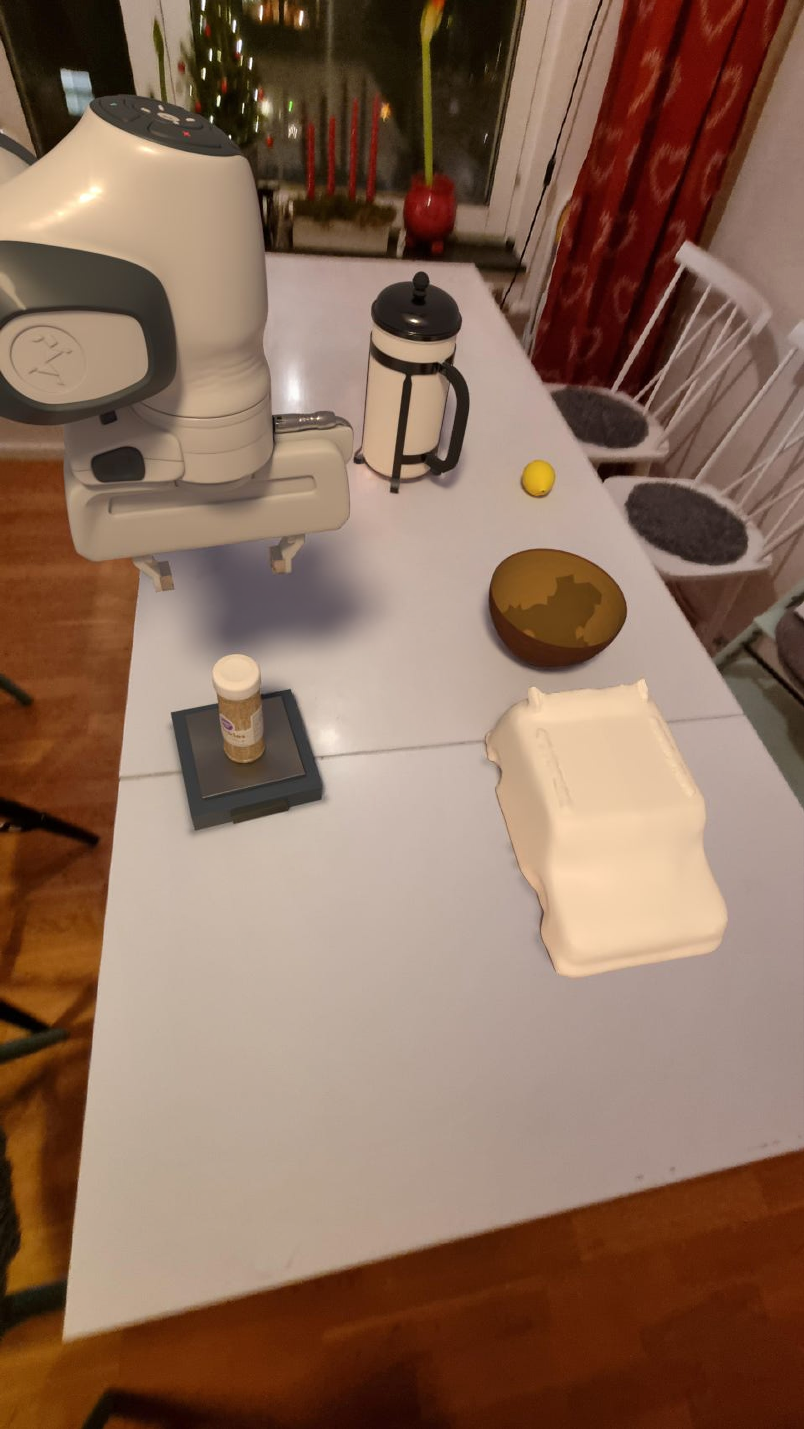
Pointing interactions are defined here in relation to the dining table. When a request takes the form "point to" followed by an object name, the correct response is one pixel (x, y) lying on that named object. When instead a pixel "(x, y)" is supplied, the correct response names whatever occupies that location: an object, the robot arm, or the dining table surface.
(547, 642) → the bowl
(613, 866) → the egg carton
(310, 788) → the scale
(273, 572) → the robot arm
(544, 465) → the lemon
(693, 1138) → the dining table surface
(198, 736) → the scale pan
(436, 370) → the coffee press
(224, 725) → the sprinkles bottle
